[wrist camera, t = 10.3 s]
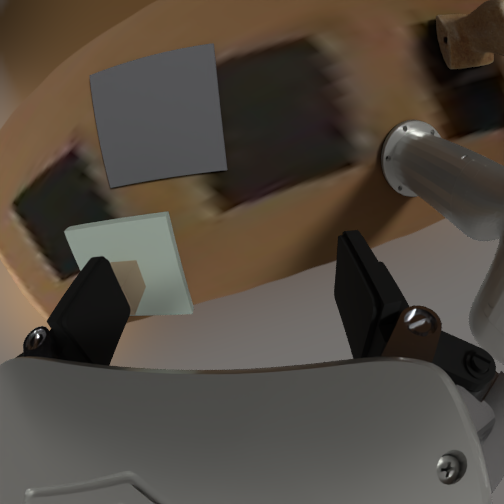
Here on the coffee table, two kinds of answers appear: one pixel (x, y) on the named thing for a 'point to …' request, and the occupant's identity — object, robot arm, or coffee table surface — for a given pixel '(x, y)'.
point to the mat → (160, 116)
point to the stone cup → (472, 35)
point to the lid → (138, 260)
